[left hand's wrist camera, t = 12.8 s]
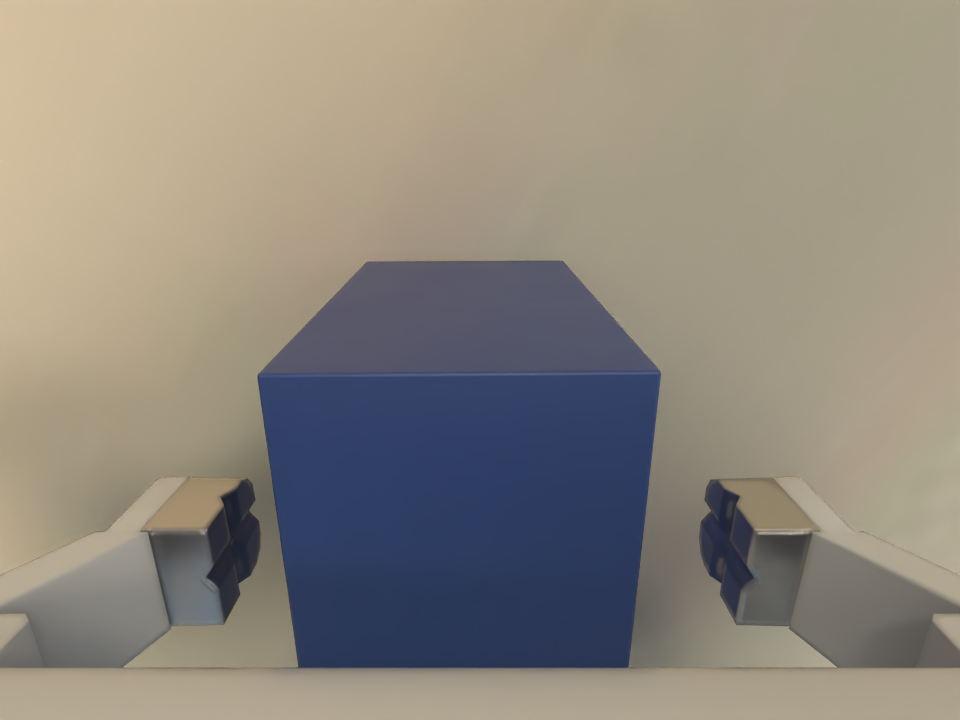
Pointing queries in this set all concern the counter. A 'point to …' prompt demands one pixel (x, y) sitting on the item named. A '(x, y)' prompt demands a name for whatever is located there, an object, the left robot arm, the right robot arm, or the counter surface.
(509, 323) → the block
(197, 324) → the counter surface
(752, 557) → the left robot arm
